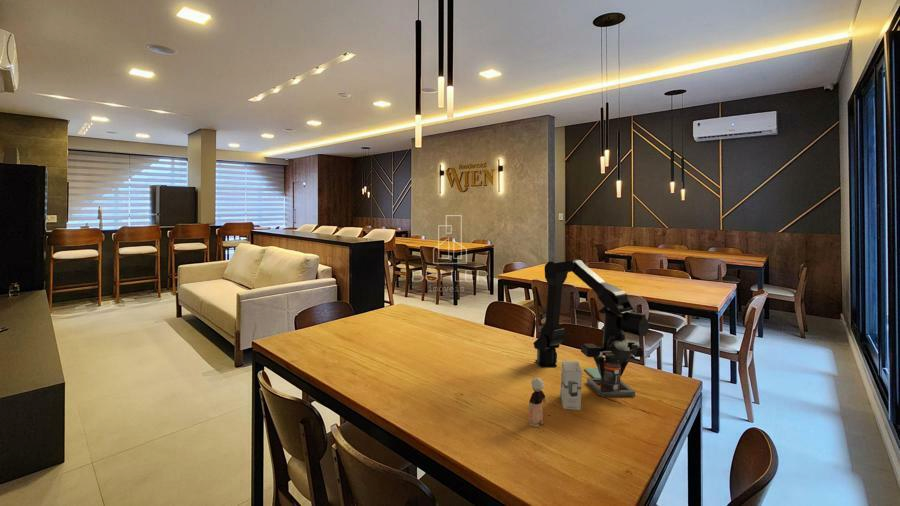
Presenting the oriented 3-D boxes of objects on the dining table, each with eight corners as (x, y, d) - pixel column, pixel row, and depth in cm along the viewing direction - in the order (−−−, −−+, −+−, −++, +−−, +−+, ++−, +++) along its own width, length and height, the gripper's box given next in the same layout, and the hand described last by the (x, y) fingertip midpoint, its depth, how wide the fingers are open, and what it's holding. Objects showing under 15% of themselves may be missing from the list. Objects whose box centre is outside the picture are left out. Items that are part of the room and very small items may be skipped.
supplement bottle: (621, 394, 131) (623, 359, 130) (601, 392, 132) (603, 357, 131) (617, 386, 137) (619, 353, 136) (598, 384, 138) (600, 351, 137)
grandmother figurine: (534, 416, 115) (536, 372, 114) (547, 420, 113) (549, 375, 112) (522, 427, 109) (524, 381, 107) (536, 432, 106) (538, 385, 105)
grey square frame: (601, 396, 128) (601, 392, 128) (586, 382, 139) (587, 378, 139) (634, 396, 129) (635, 391, 129) (618, 382, 140) (618, 378, 140)
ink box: (559, 396, 128) (561, 359, 127) (576, 397, 128) (577, 360, 127) (563, 409, 120) (565, 369, 119) (580, 410, 119) (582, 371, 118)
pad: (595, 379, 142) (595, 378, 142) (584, 370, 151) (584, 368, 151) (620, 379, 143) (620, 377, 143) (608, 369, 152) (608, 368, 152)
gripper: (595, 336, 124) (593, 386, 125) (655, 336, 125) (652, 385, 127) (581, 326, 135) (579, 372, 136) (636, 326, 136) (633, 372, 138)
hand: (610, 375), depth 134 cm, fingers closed on supplement bottle, 6 cm apart
